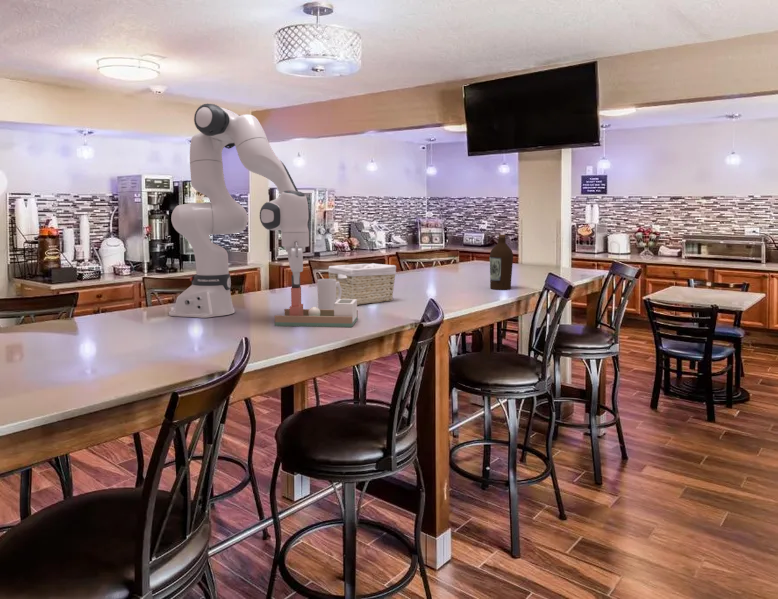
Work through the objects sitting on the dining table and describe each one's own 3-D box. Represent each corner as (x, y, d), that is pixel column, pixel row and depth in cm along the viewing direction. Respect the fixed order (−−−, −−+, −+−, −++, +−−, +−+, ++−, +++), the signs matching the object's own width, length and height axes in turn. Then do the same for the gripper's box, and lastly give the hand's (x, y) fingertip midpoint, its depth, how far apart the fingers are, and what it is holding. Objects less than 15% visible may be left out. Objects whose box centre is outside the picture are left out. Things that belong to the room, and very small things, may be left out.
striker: (289, 319, 204) (288, 276, 202) (294, 315, 211) (293, 274, 209) (298, 319, 204) (297, 276, 202) (303, 315, 211) (302, 274, 208)
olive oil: (500, 286, 298) (501, 233, 294) (516, 289, 289) (518, 234, 285) (484, 288, 292) (485, 234, 288) (500, 290, 283) (502, 235, 279)
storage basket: (372, 296, 265) (371, 262, 263) (398, 301, 254) (398, 264, 251) (326, 302, 250) (326, 265, 247) (352, 307, 238) (351, 268, 235)
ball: (307, 319, 205) (306, 307, 204) (309, 317, 209) (309, 305, 208) (319, 320, 205) (319, 307, 204) (321, 317, 209) (321, 306, 208)
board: (274, 325, 201) (274, 303, 200) (285, 318, 215) (285, 297, 214) (351, 327, 199) (351, 304, 198) (357, 319, 213) (357, 298, 212)
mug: (325, 315, 220) (325, 281, 218) (313, 313, 225) (313, 279, 223) (347, 312, 227) (347, 279, 225) (335, 309, 232) (335, 277, 230)
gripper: (307, 242, 194) (307, 287, 196) (303, 239, 214) (304, 279, 216) (286, 243, 193) (287, 287, 195) (284, 239, 213) (285, 280, 215)
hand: (296, 283), depth 206 cm, fingers closed on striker, 3 cm apart
